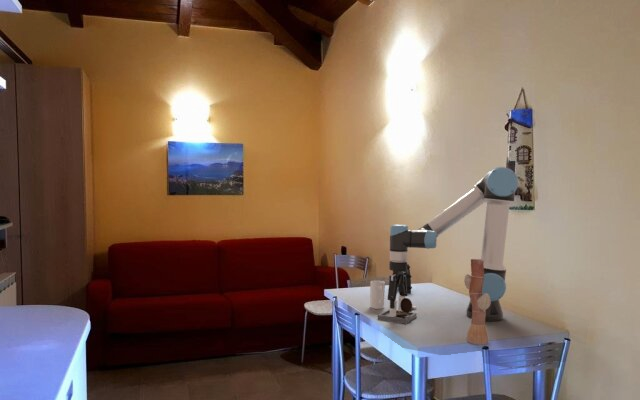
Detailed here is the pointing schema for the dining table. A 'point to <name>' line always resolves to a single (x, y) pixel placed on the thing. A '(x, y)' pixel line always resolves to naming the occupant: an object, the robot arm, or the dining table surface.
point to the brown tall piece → (477, 303)
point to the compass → (404, 307)
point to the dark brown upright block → (408, 279)
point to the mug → (377, 294)
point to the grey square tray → (404, 319)
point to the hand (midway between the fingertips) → (397, 313)
